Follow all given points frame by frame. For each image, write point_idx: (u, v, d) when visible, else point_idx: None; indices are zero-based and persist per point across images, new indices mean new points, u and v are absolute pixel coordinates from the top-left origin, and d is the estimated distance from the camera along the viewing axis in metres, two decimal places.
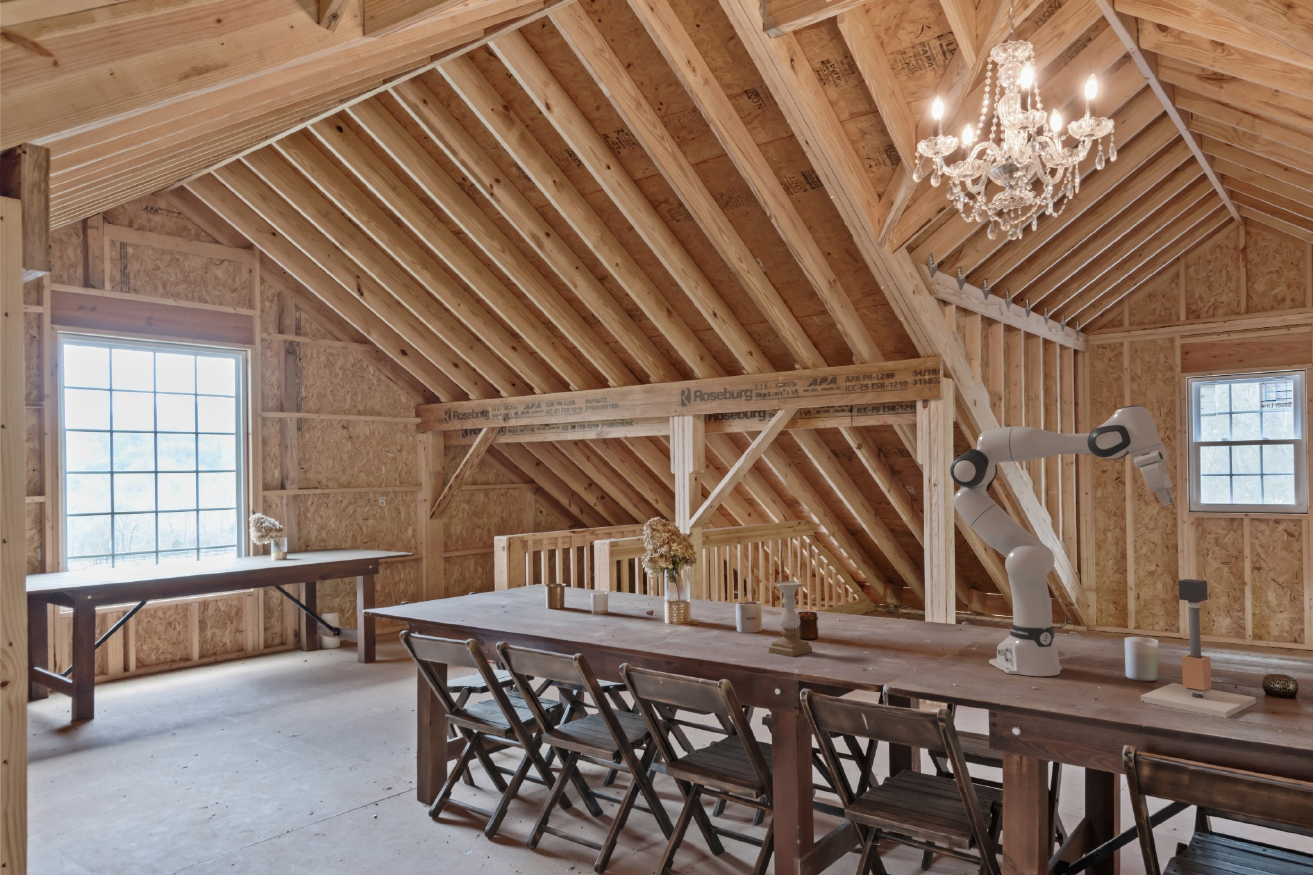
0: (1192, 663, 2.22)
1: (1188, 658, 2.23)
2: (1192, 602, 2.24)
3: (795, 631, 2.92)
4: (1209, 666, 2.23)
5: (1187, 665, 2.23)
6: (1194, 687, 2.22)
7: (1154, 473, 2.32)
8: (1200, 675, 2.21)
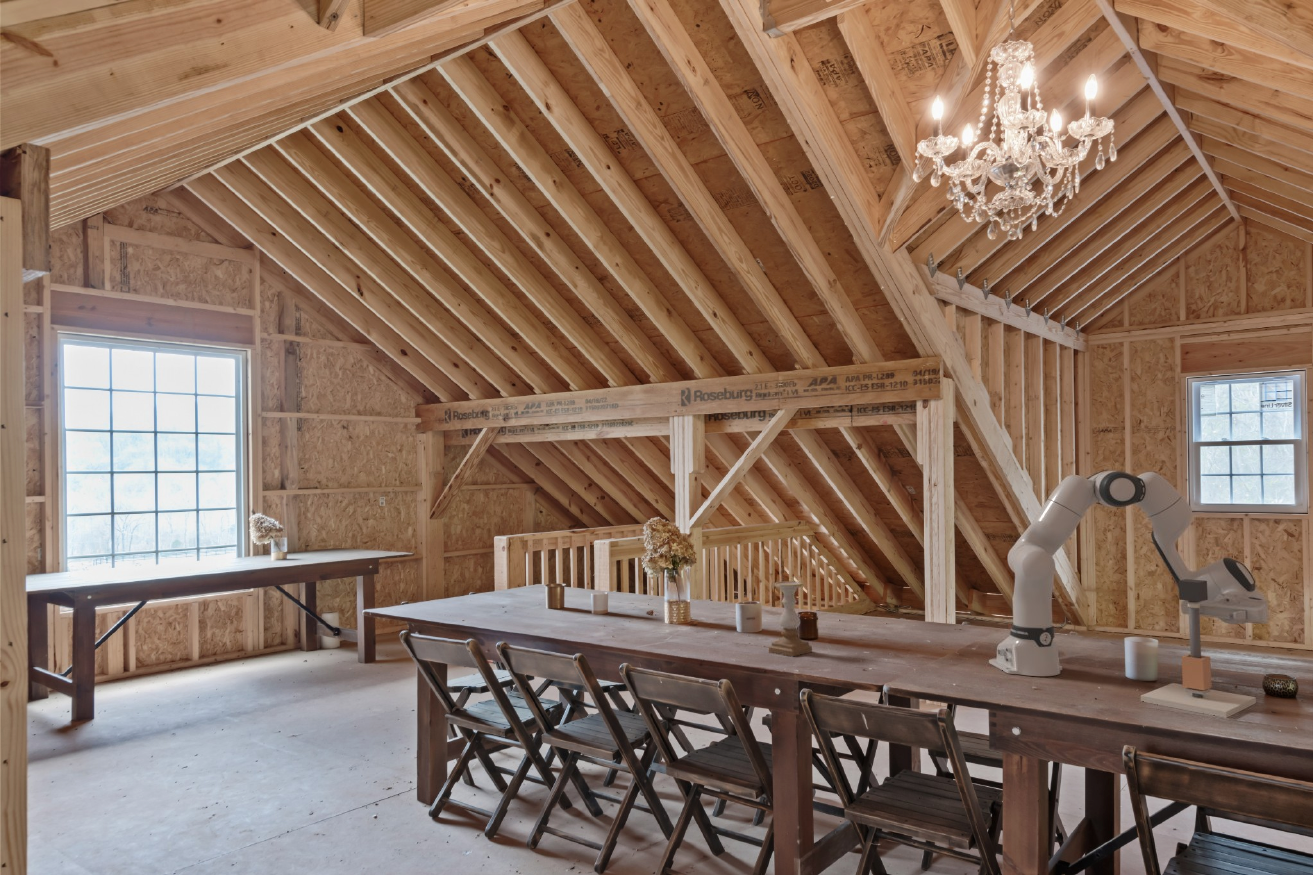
0: (1192, 663, 2.22)
1: (1188, 658, 2.23)
2: (1192, 602, 2.24)
3: (795, 631, 2.92)
4: (1209, 666, 2.23)
5: (1187, 665, 2.23)
6: (1194, 687, 2.22)
7: (1266, 616, 2.29)
8: (1200, 675, 2.21)
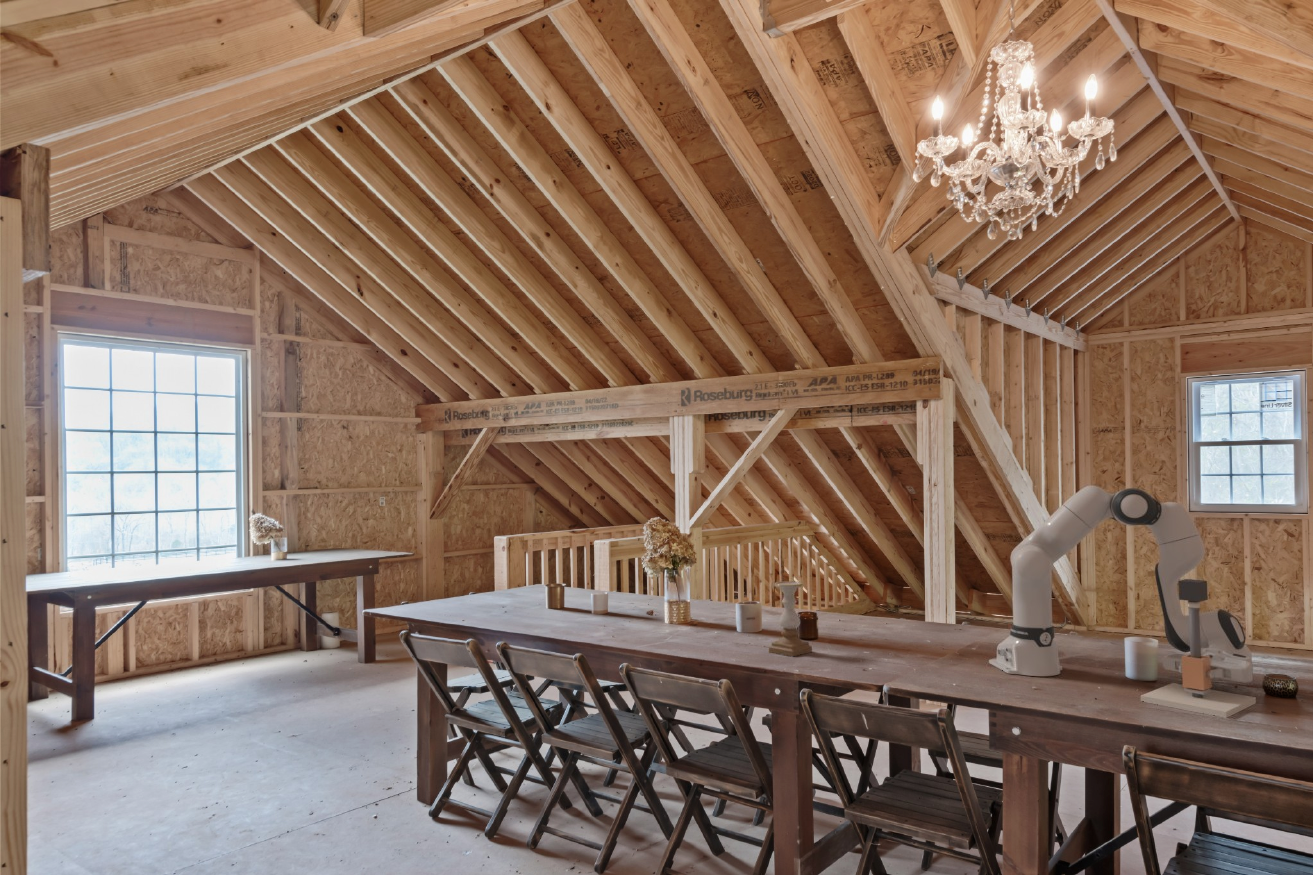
0: (1192, 663, 2.22)
1: (1188, 658, 2.23)
2: (1192, 602, 2.24)
3: (795, 631, 2.92)
4: (1209, 666, 2.23)
5: (1187, 665, 2.23)
6: (1194, 687, 2.22)
7: (1251, 675, 2.21)
8: (1200, 675, 2.21)
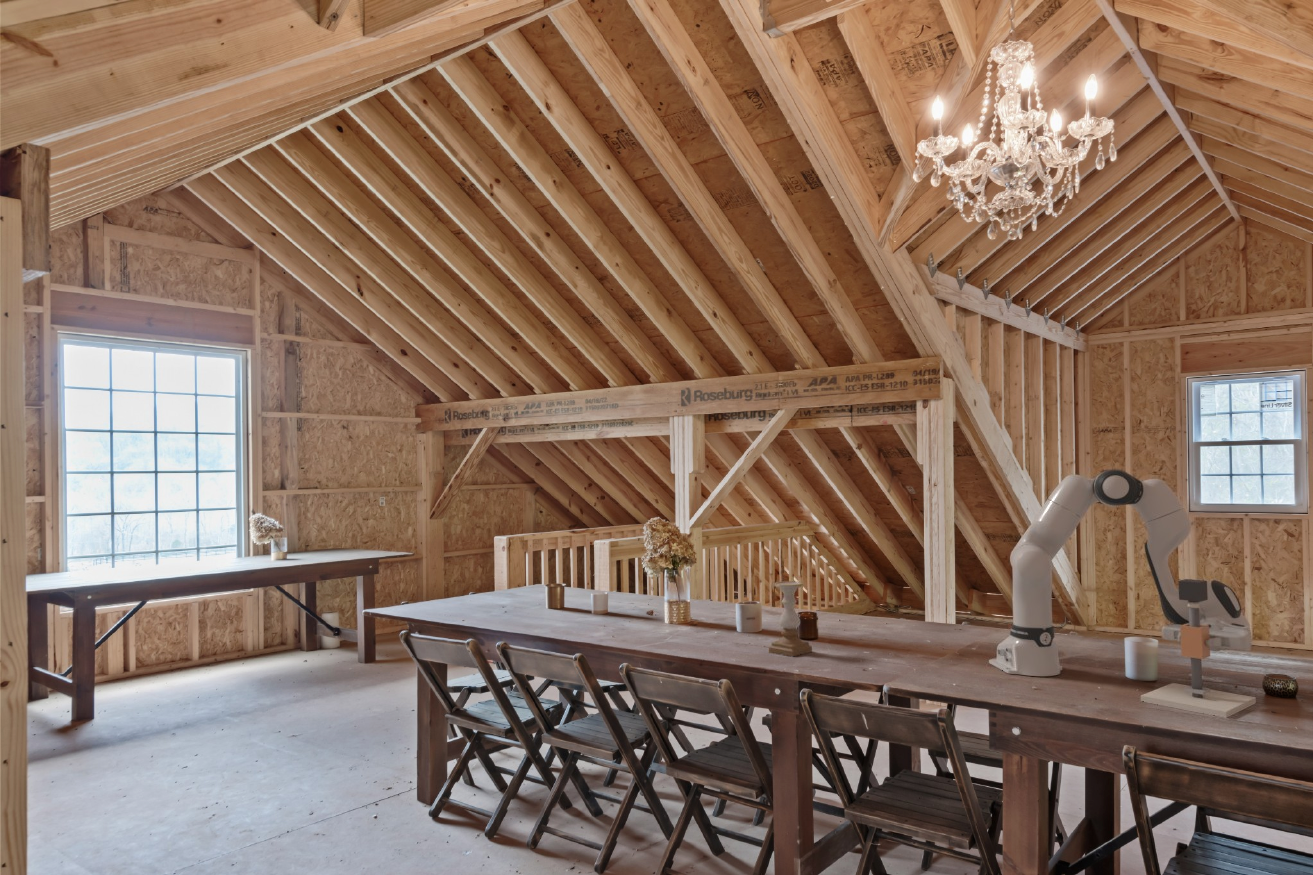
0: (1191, 632, 2.23)
1: (1187, 627, 2.23)
2: (1192, 602, 2.24)
3: (795, 631, 2.92)
4: (1208, 635, 2.23)
5: (1185, 634, 2.24)
6: (1193, 656, 2.22)
7: (1249, 644, 2.21)
8: (1199, 644, 2.21)
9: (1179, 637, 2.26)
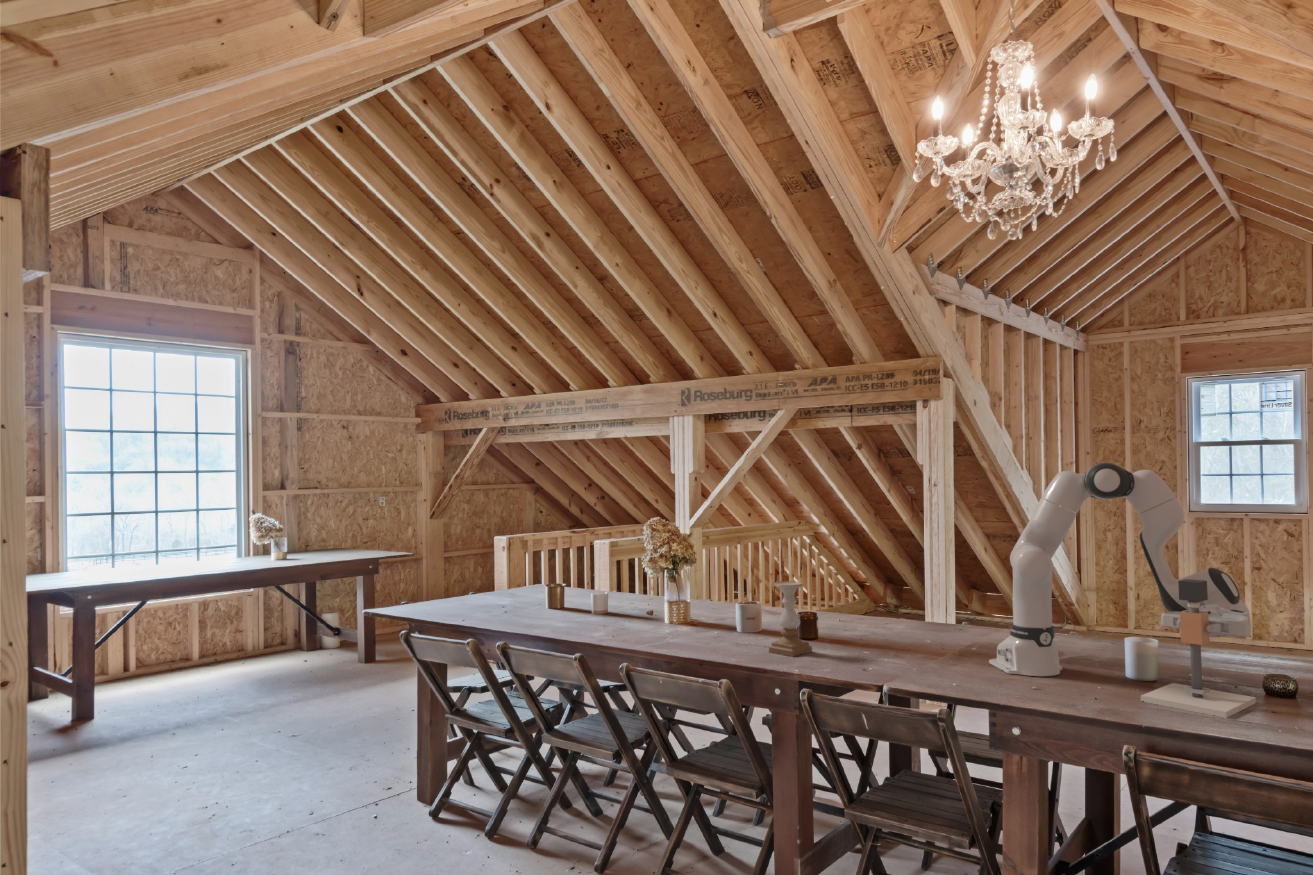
0: (1190, 618, 2.23)
1: (1186, 613, 2.24)
2: (1192, 602, 2.24)
3: (795, 631, 2.92)
4: (1207, 621, 2.23)
5: (1185, 621, 2.24)
6: (1192, 642, 2.22)
7: (1248, 630, 2.21)
8: (1198, 630, 2.21)
9: (1178, 623, 2.27)
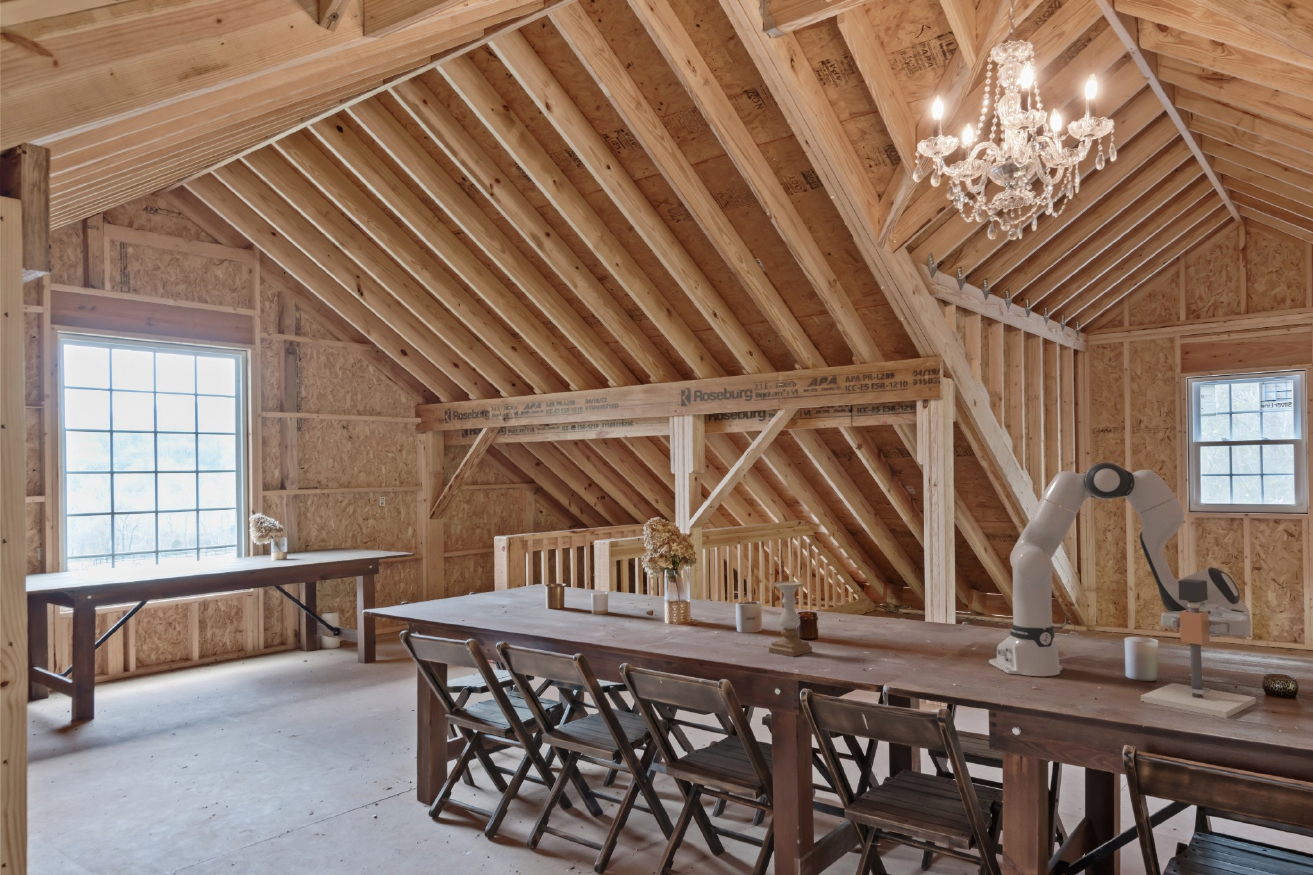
0: (1190, 618, 2.23)
1: (1186, 613, 2.24)
2: (1192, 602, 2.24)
3: (795, 631, 2.92)
4: (1207, 621, 2.23)
5: (1185, 620, 2.24)
6: (1192, 642, 2.22)
7: (1248, 629, 2.21)
8: (1198, 629, 2.21)
9: (1172, 622, 2.28)
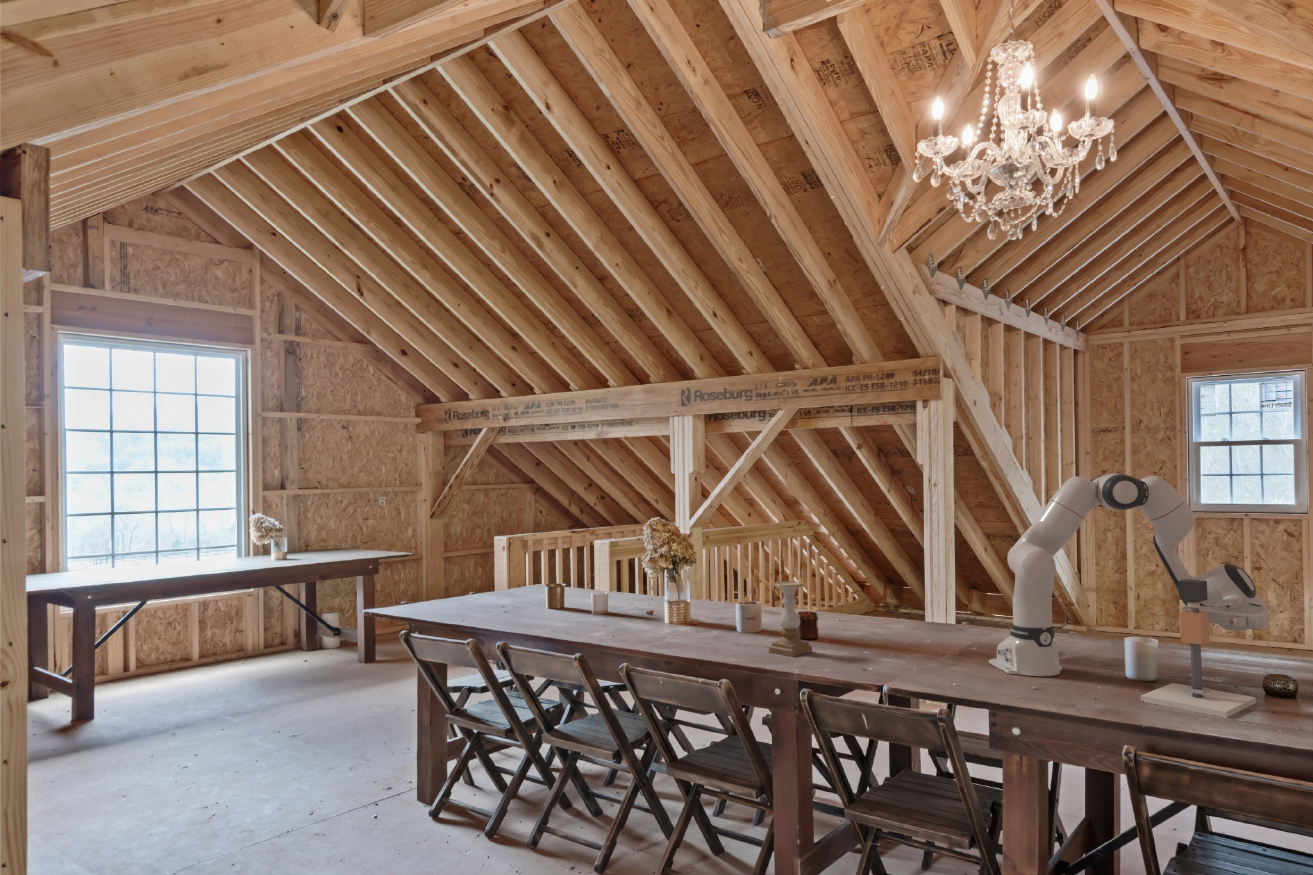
0: (1190, 618, 2.23)
1: (1186, 613, 2.24)
2: (1192, 602, 2.24)
3: (795, 631, 2.92)
4: (1207, 621, 2.23)
5: (1185, 620, 2.24)
6: (1192, 642, 2.22)
7: (1266, 623, 2.29)
8: (1198, 629, 2.21)
9: None
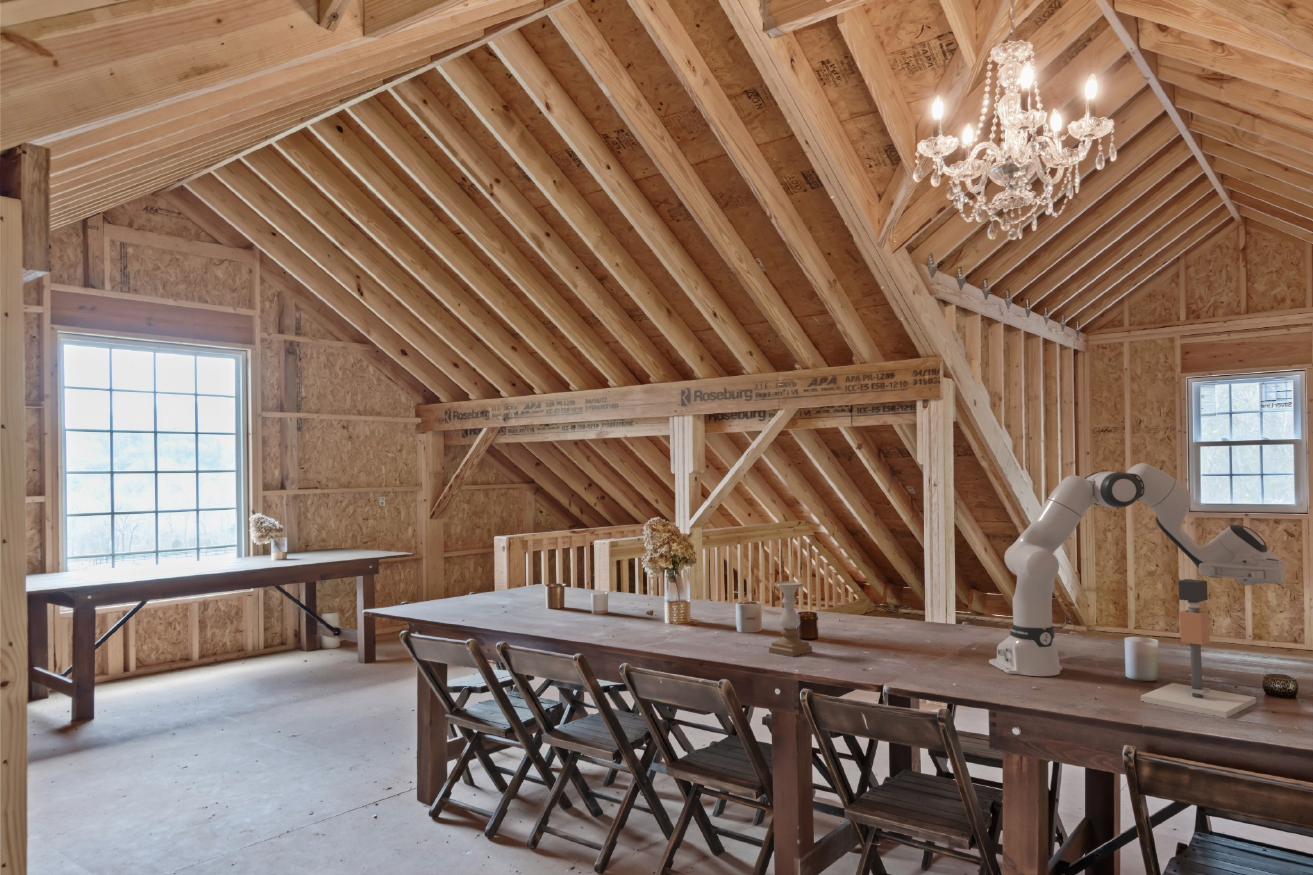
0: (1190, 618, 2.23)
1: (1186, 613, 2.24)
2: (1192, 602, 2.24)
3: (795, 631, 2.92)
4: (1207, 621, 2.23)
5: (1185, 620, 2.24)
6: (1192, 642, 2.22)
7: (1283, 576, 2.34)
8: (1198, 629, 2.21)
9: (1211, 570, 2.40)
